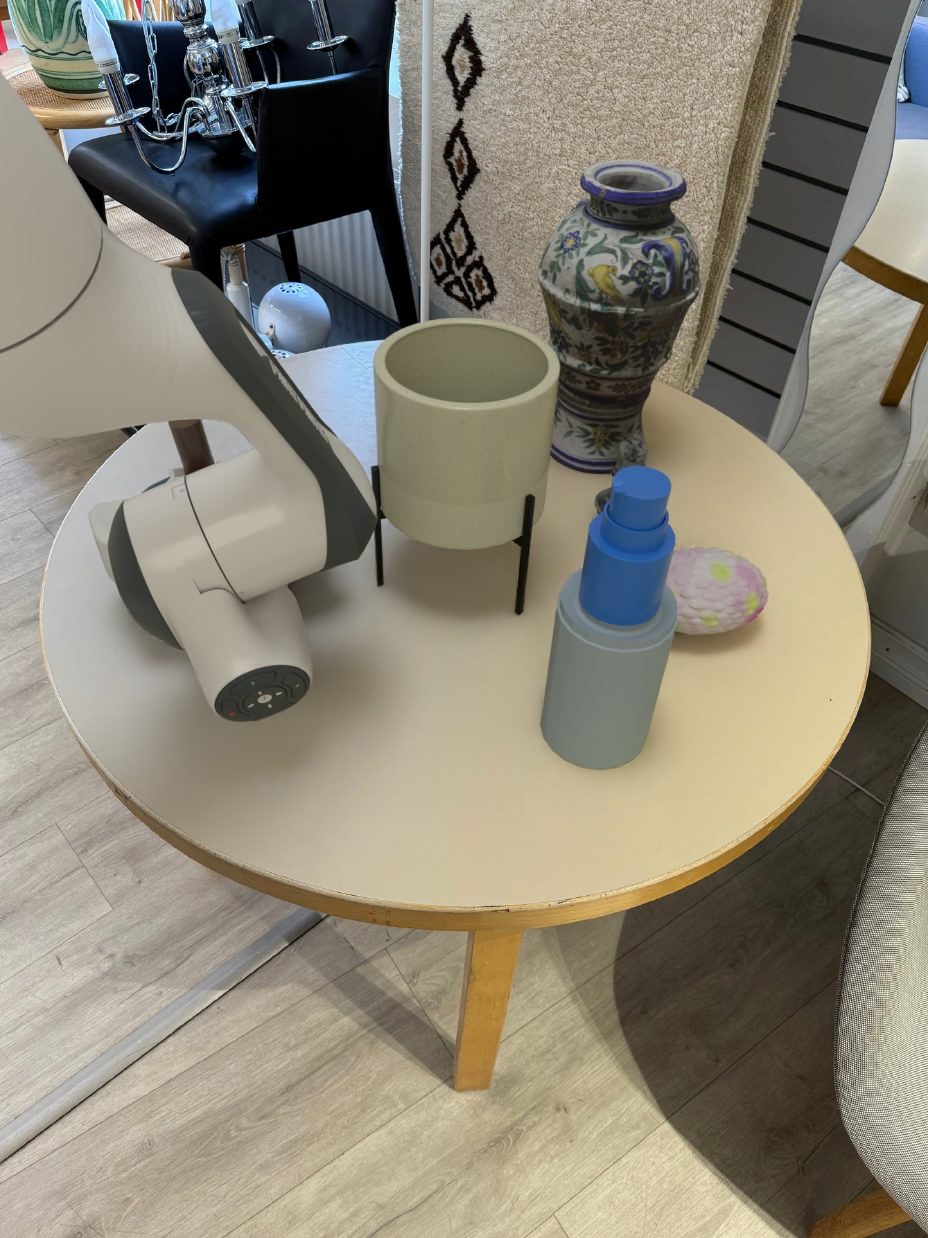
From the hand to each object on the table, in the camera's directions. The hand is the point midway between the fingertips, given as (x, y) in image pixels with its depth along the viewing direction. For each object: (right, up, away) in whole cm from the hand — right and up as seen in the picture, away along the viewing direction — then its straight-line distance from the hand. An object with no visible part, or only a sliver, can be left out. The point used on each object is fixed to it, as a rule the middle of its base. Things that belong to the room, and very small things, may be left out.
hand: (200, 470), depth 84 cm
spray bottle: (+35, -23, -8) cm, 43 cm away
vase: (+40, +7, +22) cm, 46 cm away
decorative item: (+46, -14, +2) cm, 48 cm away
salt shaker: (+41, -5, +11) cm, 42 cm away
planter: (+24, -9, +5) cm, 26 cm away
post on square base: (+1, -6, +5) cm, 8 cm away
